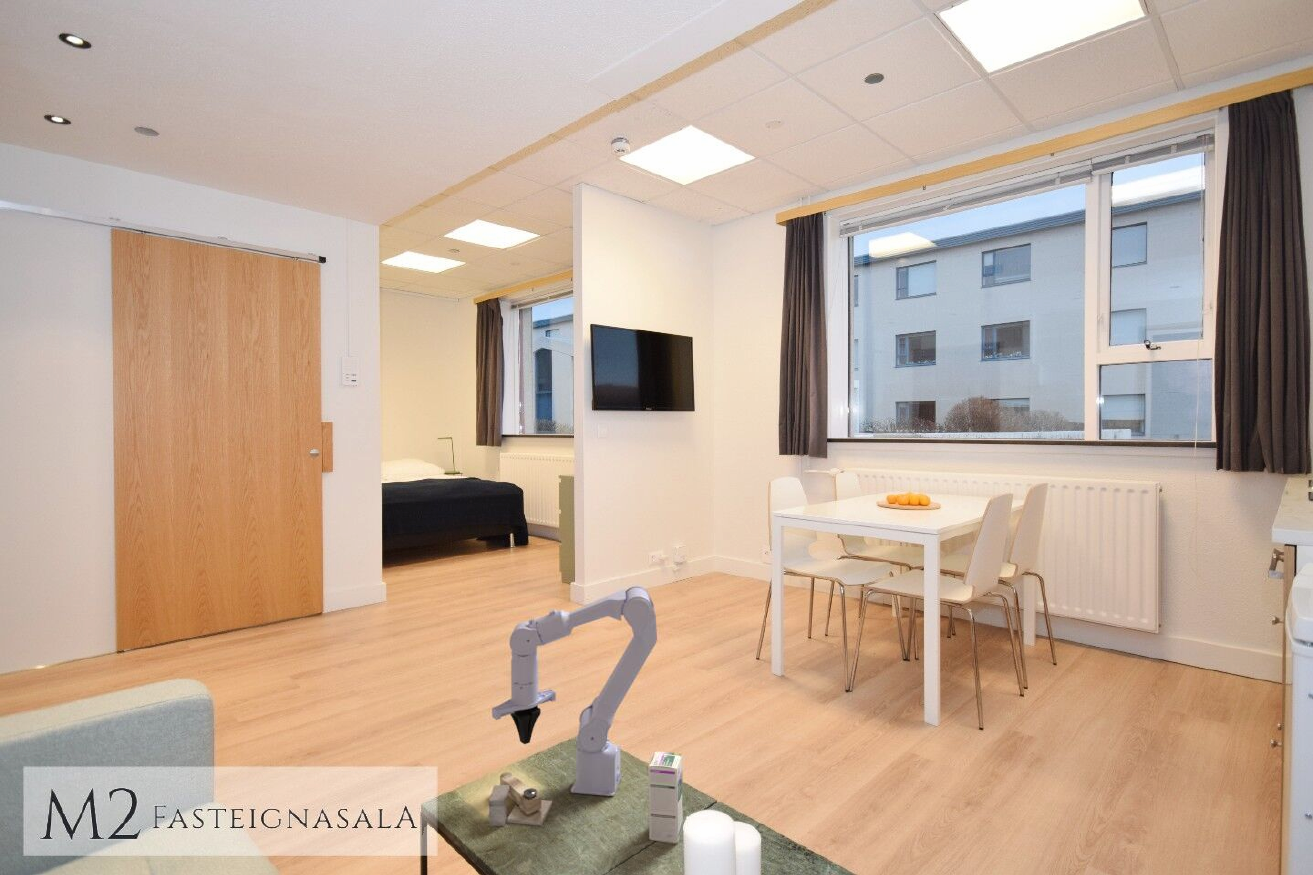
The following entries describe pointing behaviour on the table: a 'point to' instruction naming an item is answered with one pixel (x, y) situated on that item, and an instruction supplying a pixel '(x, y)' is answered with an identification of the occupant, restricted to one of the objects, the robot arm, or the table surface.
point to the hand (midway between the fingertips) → (524, 741)
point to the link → (520, 793)
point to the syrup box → (665, 797)
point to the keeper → (498, 805)
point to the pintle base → (532, 818)
